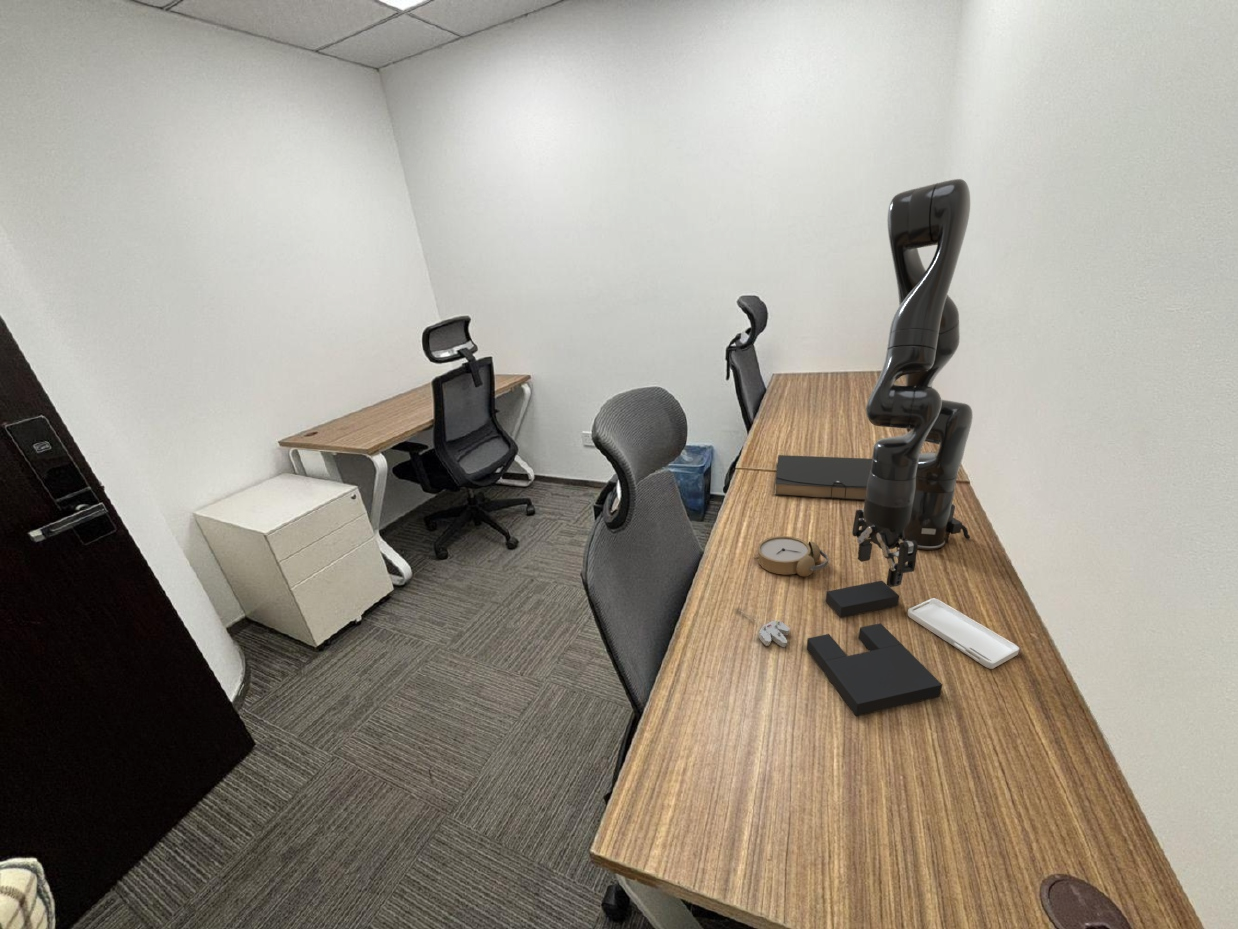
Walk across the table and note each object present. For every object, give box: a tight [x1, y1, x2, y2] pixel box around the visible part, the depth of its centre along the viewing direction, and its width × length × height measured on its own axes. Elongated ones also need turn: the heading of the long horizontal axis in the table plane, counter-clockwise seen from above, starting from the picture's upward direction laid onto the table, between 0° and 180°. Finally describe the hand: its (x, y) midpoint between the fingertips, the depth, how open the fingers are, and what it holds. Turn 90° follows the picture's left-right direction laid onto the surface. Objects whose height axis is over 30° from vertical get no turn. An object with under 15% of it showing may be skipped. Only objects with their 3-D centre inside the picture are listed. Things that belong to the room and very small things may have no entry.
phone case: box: [907, 597, 1020, 670], centre depth 85 cm, size 7×1×15 cm
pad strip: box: [825, 580, 900, 618], centre depth 94 cm, size 12×5×2 cm, turn 100°
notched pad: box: [806, 622, 943, 717], centre depth 79 cm, size 14×14×2 cm
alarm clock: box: [753, 535, 829, 577], centre depth 108 cm, size 11×5×15 cm
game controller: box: [739, 609, 790, 648], centre depth 90 cm, size 6×12×3 cm, turn 49°
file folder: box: [774, 454, 872, 502], centre depth 143 cm, size 33×4×24 cm
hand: (877, 572), depth 92 cm, fingers open, 8 cm apart
